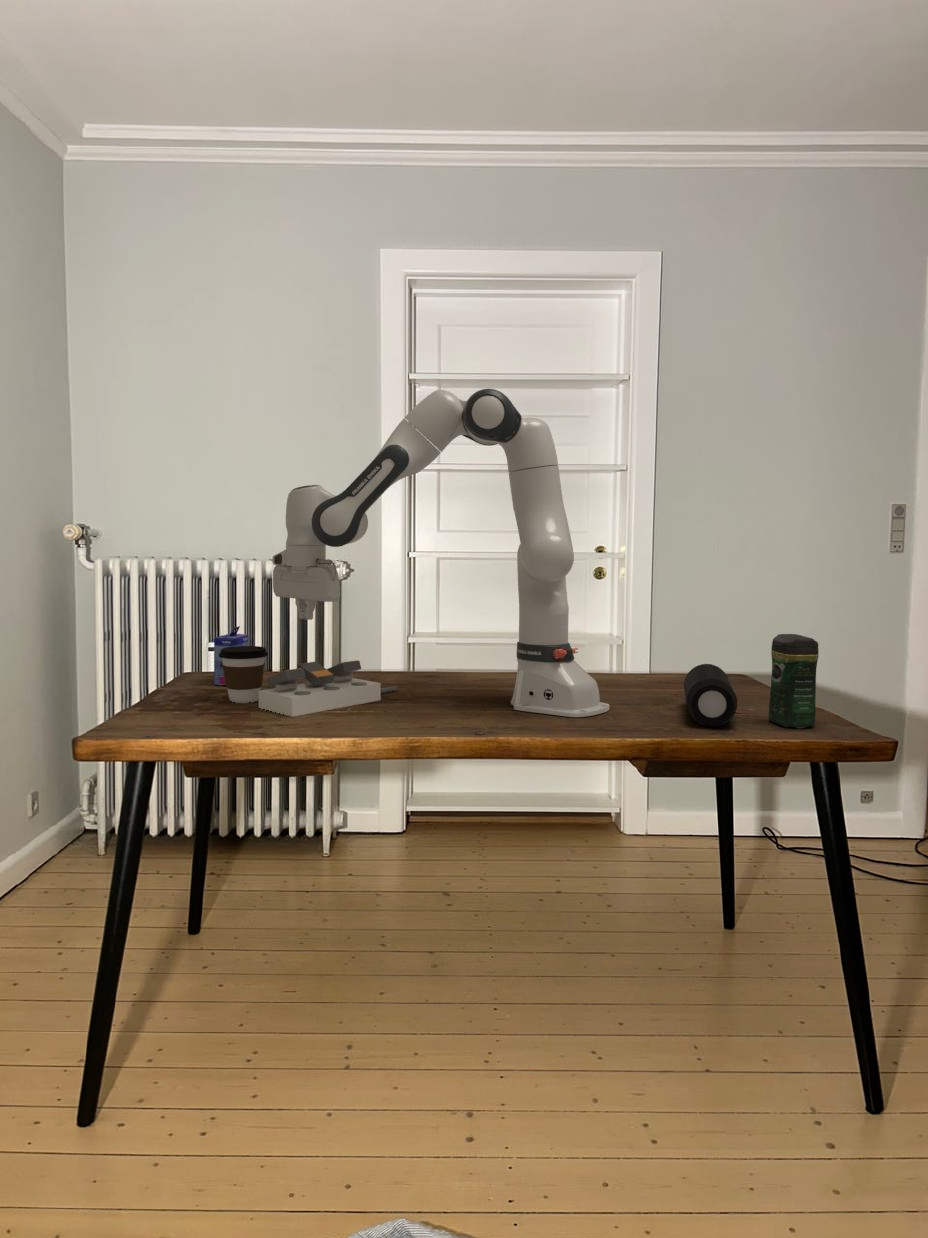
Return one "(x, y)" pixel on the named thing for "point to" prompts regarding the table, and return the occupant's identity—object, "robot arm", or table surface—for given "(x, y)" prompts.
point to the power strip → (320, 695)
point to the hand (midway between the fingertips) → (306, 619)
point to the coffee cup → (243, 672)
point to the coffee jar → (793, 680)
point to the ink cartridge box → (224, 642)
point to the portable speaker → (709, 695)
